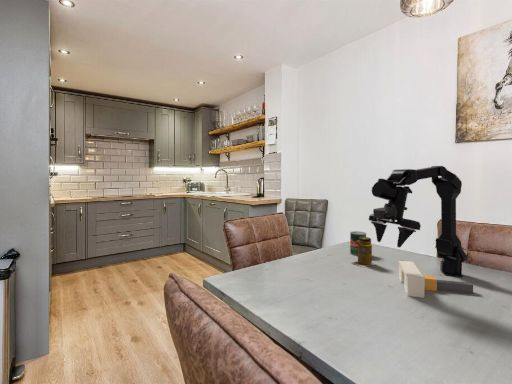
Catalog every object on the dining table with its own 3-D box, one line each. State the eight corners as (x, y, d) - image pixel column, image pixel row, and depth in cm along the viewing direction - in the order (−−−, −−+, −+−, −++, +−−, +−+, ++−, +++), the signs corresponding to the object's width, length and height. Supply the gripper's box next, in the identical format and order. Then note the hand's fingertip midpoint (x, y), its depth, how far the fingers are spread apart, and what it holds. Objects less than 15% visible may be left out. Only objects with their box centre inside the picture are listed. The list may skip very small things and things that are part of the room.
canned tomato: (366, 252, 154) (366, 231, 153) (365, 256, 147) (365, 234, 146) (350, 251, 157) (351, 230, 156) (349, 254, 150) (349, 233, 149)
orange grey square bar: (469, 290, 102) (469, 279, 102) (473, 294, 98) (474, 283, 98) (421, 285, 107) (421, 274, 107) (423, 289, 103) (424, 278, 103)
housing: (412, 277, 115) (412, 261, 115) (424, 297, 96) (424, 278, 96) (398, 276, 117) (399, 260, 116) (407, 295, 98) (407, 277, 97)
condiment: (375, 264, 133) (376, 238, 133) (364, 267, 129) (364, 240, 128) (362, 260, 139) (362, 235, 139) (350, 263, 135) (350, 237, 134)
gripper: (362, 196, 112) (353, 236, 112) (402, 199, 95) (392, 246, 94) (383, 202, 116) (375, 240, 116) (425, 206, 99) (416, 251, 98)
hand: (388, 244), depth 106 cm, fingers open, 9 cm apart
